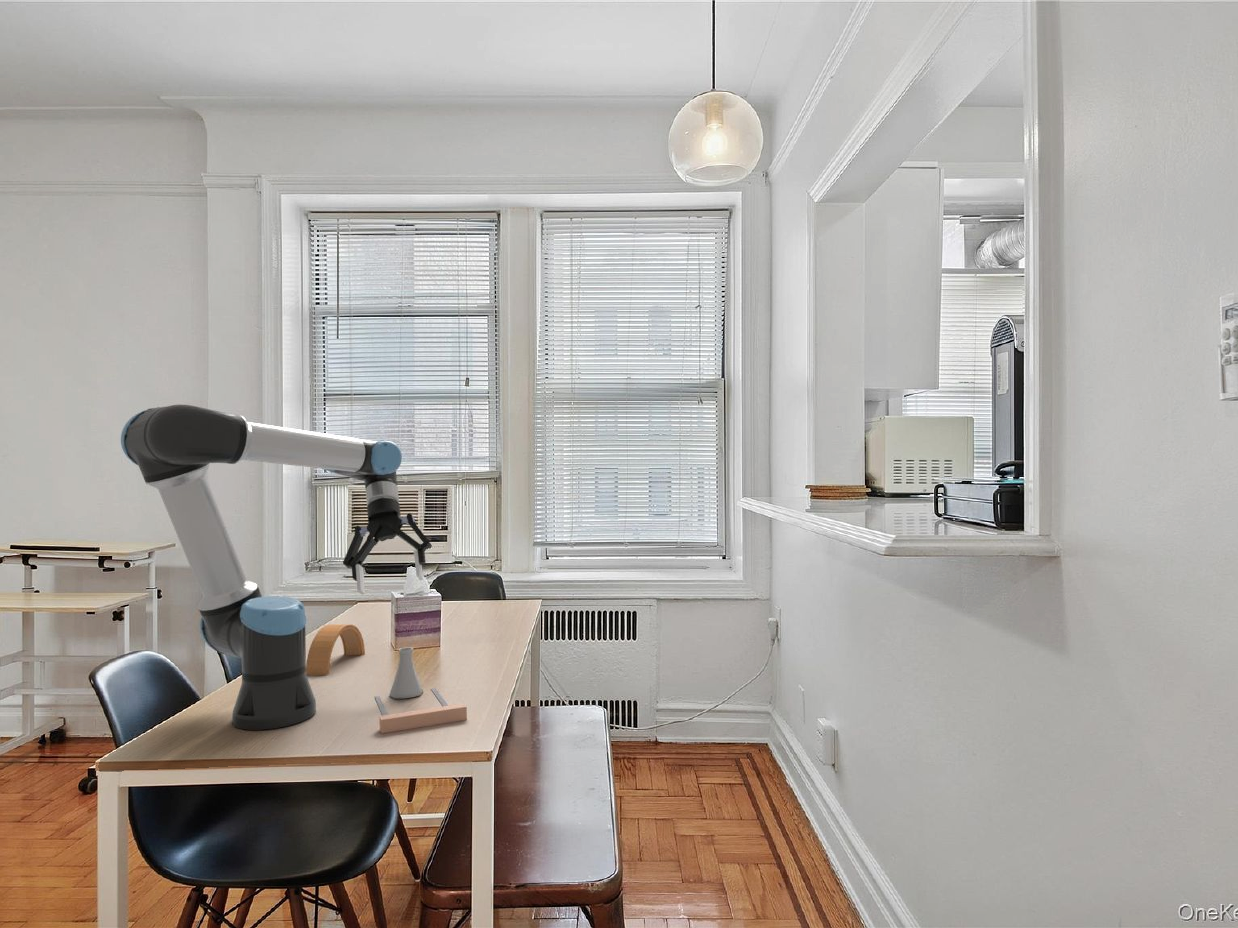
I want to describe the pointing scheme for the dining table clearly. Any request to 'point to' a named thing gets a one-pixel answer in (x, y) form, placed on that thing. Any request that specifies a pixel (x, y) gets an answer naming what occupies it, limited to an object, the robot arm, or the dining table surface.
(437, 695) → the stop bar lane
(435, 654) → the dining table surface
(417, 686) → the flask
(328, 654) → the arch
